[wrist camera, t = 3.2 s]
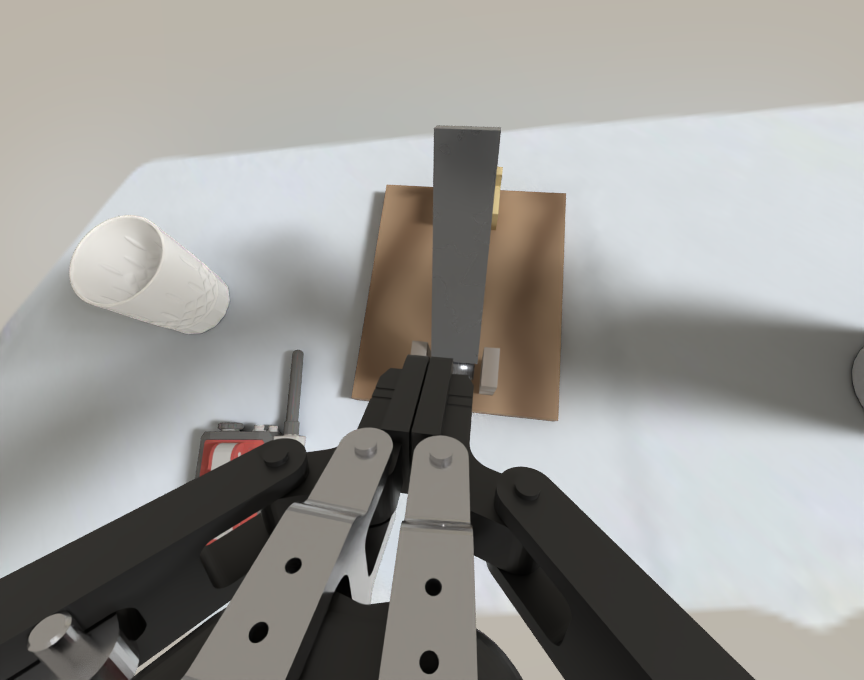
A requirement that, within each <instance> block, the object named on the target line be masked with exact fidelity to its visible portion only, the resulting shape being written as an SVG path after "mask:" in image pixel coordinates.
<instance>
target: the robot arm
mask: <svg viewBox="0 0 864 680" xmlns="http://www.w3.org/2000/svg"><path fill="white" fill-rule="evenodd" d="M852 379H853V385H854V389H855V393H856V395H857V397H858V399H859V401H860V403H861V405H862V406H863V407H864V347H863V348H862V349H861V350H860V351H859V353H858V355H857V357H856V359H855V361H854V365H853V370H852ZM473 390H474V385H473V383H472V381H471V380H470V378H469V376H468V375H461V374H453V358H444V357H433V356H431V359H430V356H421V355H410V354H408V355H407V357H406V359H405V362H404V365H403V368H402V369H397V368H390V369H388V370H387V371H386V372H385V373H384V374H382V375H381V376H380V378H379V380H378V382H377V385H376V387H375V389H374V392H373V394H372V398H371V399H370V401H369V403H368V406H367V408H366V410H365V413H364V415H363V417H362V419H361V422H360V424H359V426H358V429H357V430H354V431H352V432H350V433H349V434H347V435H346V436H345V437H344V438H343V439H342V440H341V442H340V443H339V445H338V447H335V448H332V449H327V450H320V451H313V452H306V450H305V447H304V446H303V444H302V443H300V442H299V441H297V440H294V439H290V438H280V439H275V440H271V441H269V442H266V443H264V444H262V445H260V446H258V447H256V448H254V449H252V450H251V451H249V452H247V453H245V454H243V455H241V456H239V457H237V458H235V459H233V460H231V461H229V462H227V463H225V464H223V465H221V466H219V467H217V468H215V469H213V470H212V471H210V472H208V473H206V474H204V475H202V476H200V477H198V478H196V479H194V480H192V481H190V482H188V483H186V484H184V485H182V486H180V487H178V488H176V489H174V490H172V491H171V492H169V493H167V494H165V495H163V496H161V497H159V498H157V499H155V500H153V501H151V502H149V503H147V504H145V505H143V506H141V507H139V508H137V509H135V510H133V511H132V512H130V513H128V514H126V515H124V516H122V517H120V518H118V519H116V520H114V521H112V522H110V523H108V524H106V525H104V526H102V527H100V528H98V529H96V530H94V531H93V532H91V533H89V534H87V535H85V536H83V537H81V538H79V539H77V540H75V541H73V542H71V543H69V544H67V545H65V546H63V547H61V548H59V549H57V550H55V551H54V552H52V553H50V554H48V555H46V556H44V557H42V558H40V559H38V560H36V561H34V562H32V563H30V564H28V565H26V566H24V567H22V568H20V569H18V570H16V571H15V572H13V573H11V574H9V575H7V576H5V577H3V578H1V579H0V680H523V679H522V677H521V676H520V674H519V672H518V671H517V669H516V668H515V666H514V665H513V664H512V662H511V661H510V660H509V658H508V657H507V656H506V654H505V653H504V652H503V651H502V650H501V649H500V648H499V647H498V645H497V644H495V642H493V641H492V640H491V639H490V638H489V637H487V636H486V635H485V634H484V633H482V632H481V631H479V630H478V629H476V612H475V580H474V556H476V557H478V558H480V559H482V560H484V561H486V563H487V566H488V569H489V571H490V572H491V574H492V576H493V577H494V578H495V580H496V581H497V583H498V584H499V586H500V587H501V588H502V590H503V591H504V593H505V594H506V596H507V597H508V599H509V600H510V601H511V603H512V604H513V606H514V607H515V609H516V610H517V612H518V613H519V614H520V616H521V617H522V619H523V620H524V622H525V623H526V624H527V626H528V627H529V629H530V630H531V631H532V633H533V635H534V636H535V637H536V639H537V640H538V642H539V643H540V645H541V646H542V648H543V649H544V650H545V652H546V653H547V655H548V656H549V658H550V659H551V660H552V662H553V663H554V665H555V666H556V668H557V669H558V671H559V672H560V673H561V675H562V676H563V678H564V679H565V680H755V679H754V678H753V677H752V676H751V675H750V674H749V673H748V672H747V671H746V670H745V669H744V668H743V667H742V666H741V665H740V664H739V663H738V662H737V661H736V660H734V659H733V658H732V656H730V655H729V654H728V653H727V652H726V651H725V650H724V649H723V648H722V647H721V646H720V645H719V644H718V643H717V642H716V641H715V640H714V639H713V638H712V637H711V636H710V635H709V634H708V633H707V632H706V631H705V630H704V629H703V628H702V627H701V626H700V625H699V624H698V623H697V622H695V620H693V618H691V616H689V614H687V613H686V612H685V611H684V610H683V609H682V608H681V607H680V606H679V605H678V604H677V603H676V602H675V601H674V600H673V599H672V598H671V597H670V596H669V595H668V594H667V593H666V592H665V591H664V590H663V589H662V588H661V587H660V586H659V585H658V584H657V583H656V582H655V581H654V580H653V579H652V578H651V577H650V576H649V575H647V574H646V573H645V572H644V571H643V570H642V569H641V568H640V567H639V566H638V565H637V564H636V563H635V562H634V561H633V560H632V559H631V558H630V557H629V556H628V555H627V554H626V553H625V552H624V551H623V550H622V549H621V548H620V547H619V546H618V545H617V544H616V543H615V542H614V541H613V540H612V539H611V538H610V537H609V536H608V535H606V534H605V533H604V532H603V531H602V530H601V529H600V528H599V527H598V526H597V525H596V524H595V523H594V522H593V521H592V520H591V519H590V518H589V517H588V516H587V515H586V514H585V513H584V512H583V511H582V510H581V509H580V508H579V507H578V506H577V505H576V504H575V503H574V502H573V501H572V500H571V499H570V498H569V497H568V496H567V495H565V494H564V493H563V492H562V491H561V490H560V489H559V488H558V487H557V486H556V485H555V484H554V483H553V482H552V481H551V480H550V479H549V478H548V477H547V476H546V475H544V474H543V473H541V472H539V471H537V470H535V469H532V468H528V467H513V468H510V469H507V470H506V471H504V472H503V473H502V474H501V473H499V472H497V471H494V470H492V469H489V468H487V467H485V466H484V465H482V464H481V463H480V462H478V461H477V460H476V458H475V457H474V456H473V454H472V452H471V450H470V429H471V416H472V403H473ZM400 493H406V494H408V498H407V505H406V512H405V519H404V521H402V523H401V528H400V534H399V541H398V548H397V555H396V562H395V569H394V576H393V583H392V590H391V597H390V602H385V603H377V604H370V603H371V595H372V590H373V585H374V582H375V579H376V576H377V573H378V569H379V566H380V563H381V560H382V557H383V554H384V551H385V548H386V545H387V542H388V539H389V536H390V533H391V530H392V527H393V524H394V521H395V517H396V508H397V504H398V500H399V496H400ZM258 511H260V512H261V513H259V514H258V515H256V516H255V517H253V518H251V519H250V520H248V521H247V522H245V523H243V524H242V525H240V526H238V527H237V528H235V529H234V530H232V531H230V532H229V533H227V534H226V535H224V536H222V537H221V538H219V539H217V540H216V541H214V542H213V543H211V544H209V545H207V544H208V543H209V542H210V541H211V540H213V539H214V538H216V537H217V536H219V535H221V534H222V533H224V532H225V531H227V530H229V529H230V528H232V527H234V526H235V525H237V524H239V523H240V522H242V521H243V520H245V519H247V518H248V517H250V516H252V515H253V514H255V513H256V512H258ZM230 600H231V601H230ZM229 601H230V603H229V605H228V606H227V607H226V608H225V609H223V610H222V611H220V612H218V613H217V614H215V615H214V616H212V617H211V618H210V619H208V620H207V621H206V622H204V623H203V624H202V625H200V626H199V627H198V628H196V629H195V630H194V631H192V632H191V633H190V634H189V635H187V636H186V637H185V638H183V639H182V640H181V641H180V642H178V643H177V644H175V645H174V646H173V647H172V648H170V649H169V650H168V651H166V652H165V653H164V654H162V655H161V656H160V657H158V658H157V659H156V660H155V661H153V662H152V663H151V664H149V665H148V666H147V667H145V668H144V669H143V670H142V671H140V672H139V673H138V674H137V675H135V672H136V670H137V668H138V667H139V666H140V665H142V664H143V663H145V662H146V661H147V660H149V659H150V658H151V657H153V656H154V655H156V654H157V653H158V652H160V651H161V650H162V649H164V648H165V647H167V646H168V645H170V644H171V643H172V642H174V641H175V640H176V639H178V638H179V637H181V636H182V635H183V634H185V633H186V632H188V631H189V630H190V629H192V628H193V627H194V626H196V625H197V624H199V623H200V622H201V621H203V620H204V619H206V618H207V617H208V616H210V615H211V614H212V613H214V612H215V611H217V610H218V609H219V608H221V607H222V606H224V605H225V604H226V603H228V602H229ZM134 675H135V676H134Z"/></svg>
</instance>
